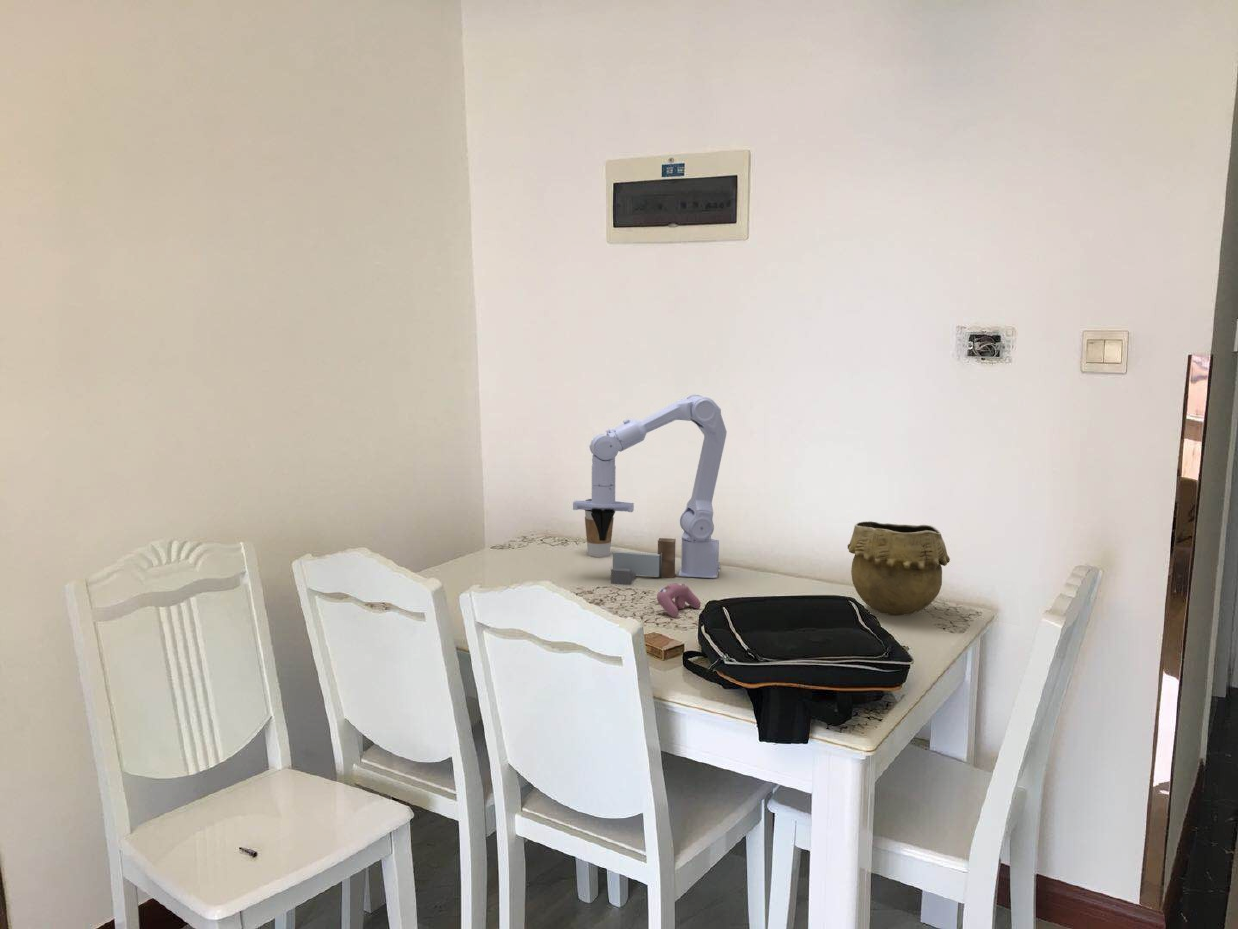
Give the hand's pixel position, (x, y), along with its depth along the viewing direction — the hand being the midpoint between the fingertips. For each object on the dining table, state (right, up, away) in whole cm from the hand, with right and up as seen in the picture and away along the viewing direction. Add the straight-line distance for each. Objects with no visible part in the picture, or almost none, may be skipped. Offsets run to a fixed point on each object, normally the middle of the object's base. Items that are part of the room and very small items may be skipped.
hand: (603, 539), depth 233 cm
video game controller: (+17, -14, -25) cm, 33 cm away
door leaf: (+8, -9, +3) cm, 12 cm away
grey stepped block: (+5, -10, -1) cm, 11 cm away
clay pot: (+64, -14, -25) cm, 70 cm away
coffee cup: (-1, -6, +25) cm, 25 cm away
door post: (+15, -9, +4) cm, 18 cm away
